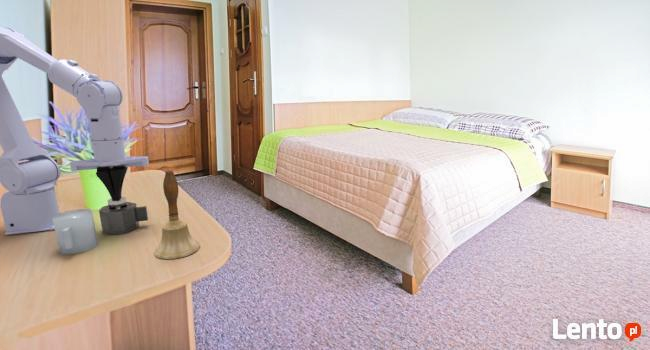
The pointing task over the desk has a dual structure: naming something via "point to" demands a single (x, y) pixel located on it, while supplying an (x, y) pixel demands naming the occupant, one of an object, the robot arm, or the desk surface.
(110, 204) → the grey flared round piece
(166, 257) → the hand bell
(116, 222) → the grey octagonal pot
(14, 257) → the desk surface
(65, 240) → the white dome with tab
